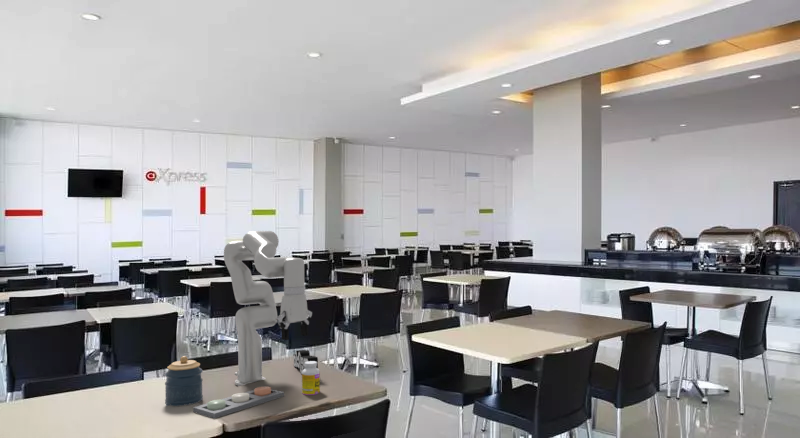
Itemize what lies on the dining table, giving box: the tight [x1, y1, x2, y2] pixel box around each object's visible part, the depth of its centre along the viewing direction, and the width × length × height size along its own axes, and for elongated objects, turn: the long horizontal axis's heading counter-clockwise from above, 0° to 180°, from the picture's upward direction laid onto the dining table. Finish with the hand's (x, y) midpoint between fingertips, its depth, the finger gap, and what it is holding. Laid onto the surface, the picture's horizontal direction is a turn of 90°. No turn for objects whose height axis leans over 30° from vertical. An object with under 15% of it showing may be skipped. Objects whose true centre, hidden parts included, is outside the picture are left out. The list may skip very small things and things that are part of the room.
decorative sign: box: [292, 349, 319, 375], centre depth 249 cm, size 32×4×10 cm, turn 22°
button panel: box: [192, 388, 285, 419], centre depth 200 cm, size 30×12×3 cm, turn 143°
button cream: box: [231, 392, 249, 403], centre depth 200 cm, size 6×6×3 cm
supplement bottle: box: [301, 361, 321, 396], centre depth 213 cm, size 7×7×13 cm
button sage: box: [206, 399, 226, 411], centre depth 192 cm, size 6×6×3 cm
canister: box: [164, 355, 204, 407], centre depth 206 cm, size 13×13×18 cm
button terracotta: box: [253, 385, 272, 397], centre depth 208 cm, size 6×6×3 cm
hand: (295, 337), depth 208 cm, fingers open, 9 cm apart
